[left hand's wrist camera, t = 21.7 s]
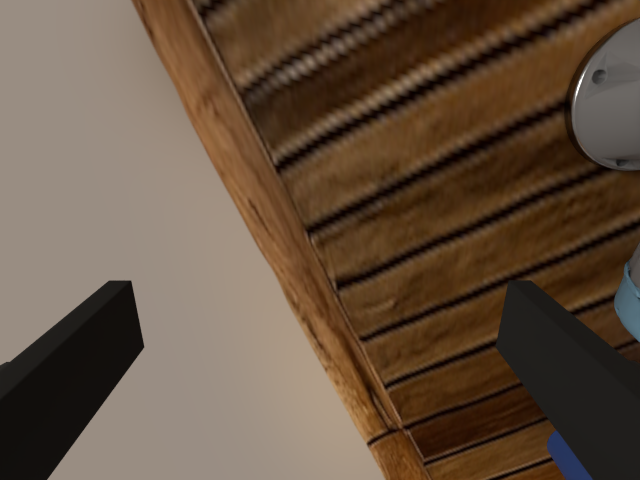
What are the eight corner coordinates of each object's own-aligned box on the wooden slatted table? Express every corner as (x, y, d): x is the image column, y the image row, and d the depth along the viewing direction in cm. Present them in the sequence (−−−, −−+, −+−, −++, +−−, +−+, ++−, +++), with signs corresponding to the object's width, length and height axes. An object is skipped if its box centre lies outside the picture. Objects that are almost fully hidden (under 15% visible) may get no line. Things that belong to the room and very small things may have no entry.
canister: (574, 467, 51) (620, 535, 43) (536, 448, 50) (575, 513, 42) (611, 436, 49) (666, 500, 41) (571, 414, 48) (621, 477, 40)
